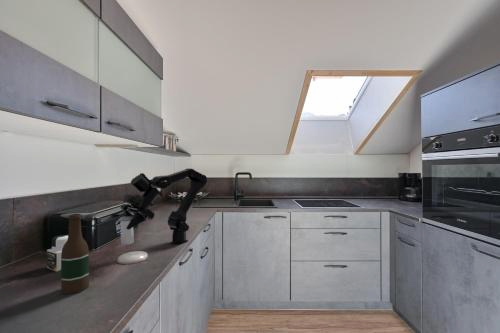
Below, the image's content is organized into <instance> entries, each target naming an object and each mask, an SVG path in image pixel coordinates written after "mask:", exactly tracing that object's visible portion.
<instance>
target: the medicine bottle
mask: <svg viewBox="0 0 500 333" xmlns="http://www.w3.org/2000/svg"><path fill="white" fill-rule="evenodd" d="M67 240H68V234H62V235H56V236H54V237H53V238H52V239H51V248H49V249H46V268H47V269H49V270H52V271H54V272H61V253H62V249H63V246H64V244H65V243H66V241H67Z"/></svg>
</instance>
